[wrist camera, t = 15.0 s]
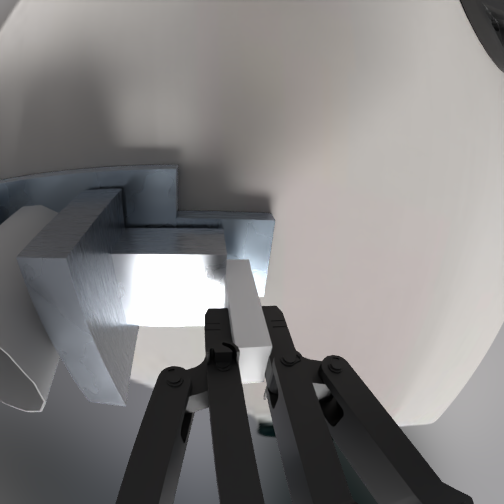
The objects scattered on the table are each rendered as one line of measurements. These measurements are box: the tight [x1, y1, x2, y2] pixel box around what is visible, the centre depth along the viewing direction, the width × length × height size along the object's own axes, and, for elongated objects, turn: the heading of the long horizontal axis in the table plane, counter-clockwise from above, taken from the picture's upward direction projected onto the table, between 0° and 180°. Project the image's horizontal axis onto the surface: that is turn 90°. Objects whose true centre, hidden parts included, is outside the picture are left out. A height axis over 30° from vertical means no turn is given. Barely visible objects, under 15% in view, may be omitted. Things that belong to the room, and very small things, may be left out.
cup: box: [0, 205, 60, 412], centre depth 11 cm, size 8×8×10 cm
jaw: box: [16, 189, 227, 406], centre depth 14 cm, size 10×9×8 cm
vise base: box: [0, 165, 275, 327], centre depth 13 cm, size 12×24×9 cm, turn 84°
